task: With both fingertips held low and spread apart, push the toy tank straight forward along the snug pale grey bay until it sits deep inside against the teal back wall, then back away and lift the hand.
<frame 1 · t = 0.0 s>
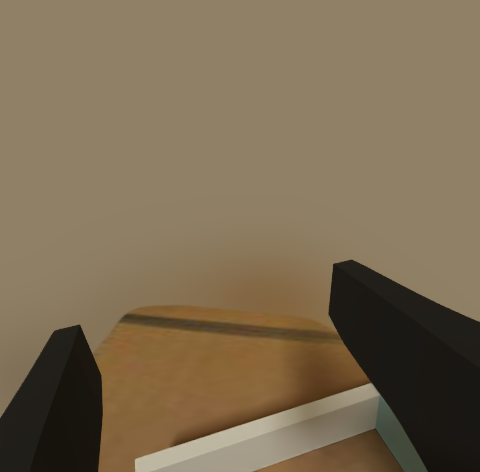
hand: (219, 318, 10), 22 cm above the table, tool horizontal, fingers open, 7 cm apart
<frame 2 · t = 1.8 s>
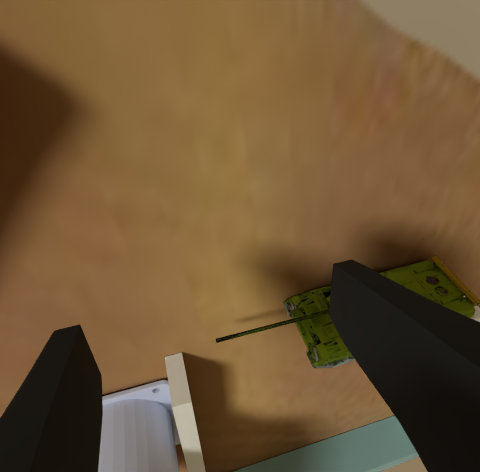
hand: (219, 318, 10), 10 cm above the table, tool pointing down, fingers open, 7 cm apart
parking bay: (312, 395, 33), on the table
toy tank: (320, 276, 26), on the table
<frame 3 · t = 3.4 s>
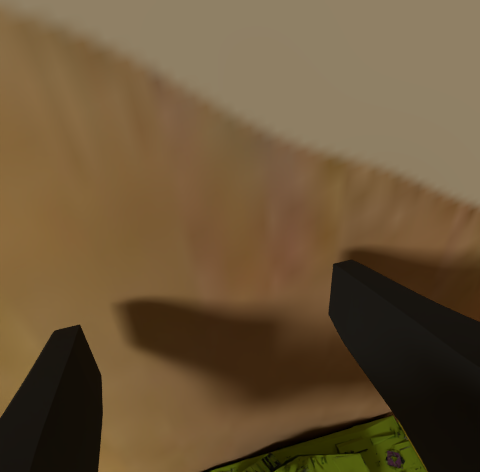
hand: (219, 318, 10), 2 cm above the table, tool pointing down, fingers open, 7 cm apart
toy tank: (231, 445, 17), on the table
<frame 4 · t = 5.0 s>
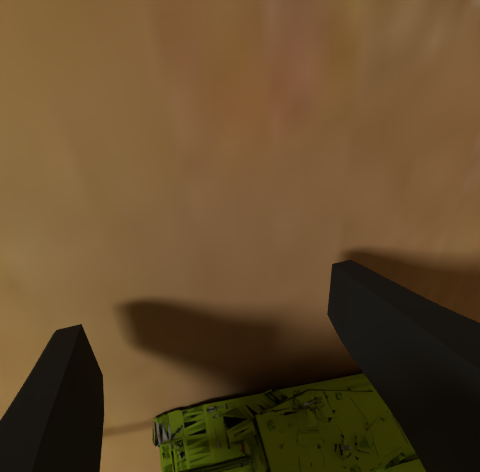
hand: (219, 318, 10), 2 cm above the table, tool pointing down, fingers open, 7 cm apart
toy tank: (227, 378, 15), on the table, touching gripper
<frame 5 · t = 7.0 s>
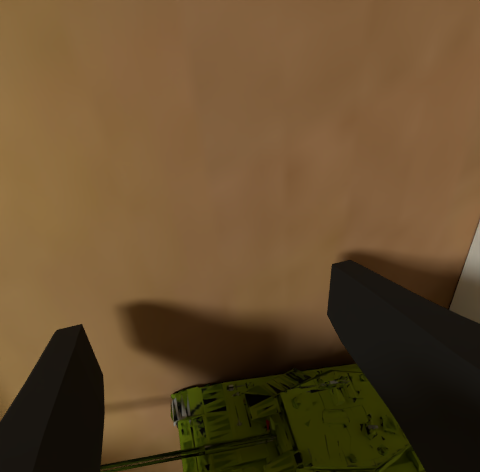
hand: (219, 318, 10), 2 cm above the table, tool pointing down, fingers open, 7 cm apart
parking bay: (226, 423, 16), on the table
toy tank: (247, 357, 14), on the table, touching gripper
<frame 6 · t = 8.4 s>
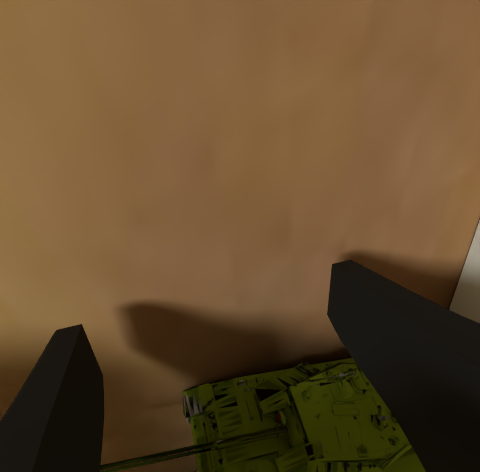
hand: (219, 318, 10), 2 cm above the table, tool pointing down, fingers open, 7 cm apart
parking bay: (215, 337, 13), on the table
toy tank: (257, 353, 15), on the table, touching gripper
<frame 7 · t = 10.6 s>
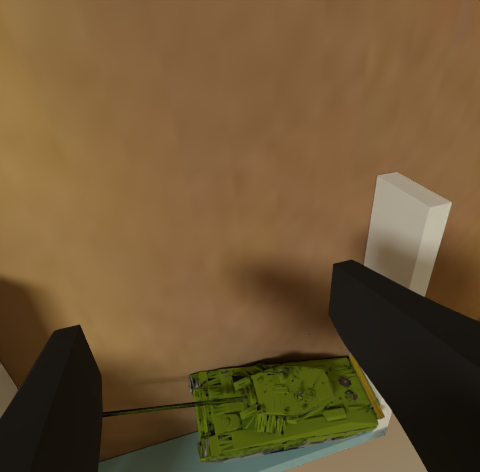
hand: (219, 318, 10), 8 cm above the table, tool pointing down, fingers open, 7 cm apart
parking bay: (206, 350, 23), on the table
toy tank: (234, 355, 24), on the table
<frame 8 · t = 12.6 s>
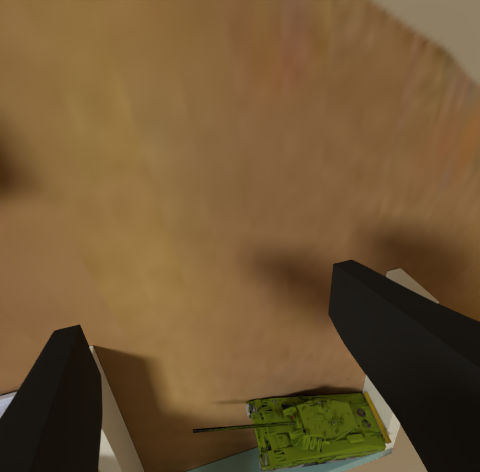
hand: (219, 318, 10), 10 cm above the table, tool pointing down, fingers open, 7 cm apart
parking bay: (257, 392, 30), on the table
toy tank: (280, 387, 31), on the table
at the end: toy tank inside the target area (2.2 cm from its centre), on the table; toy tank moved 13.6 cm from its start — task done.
